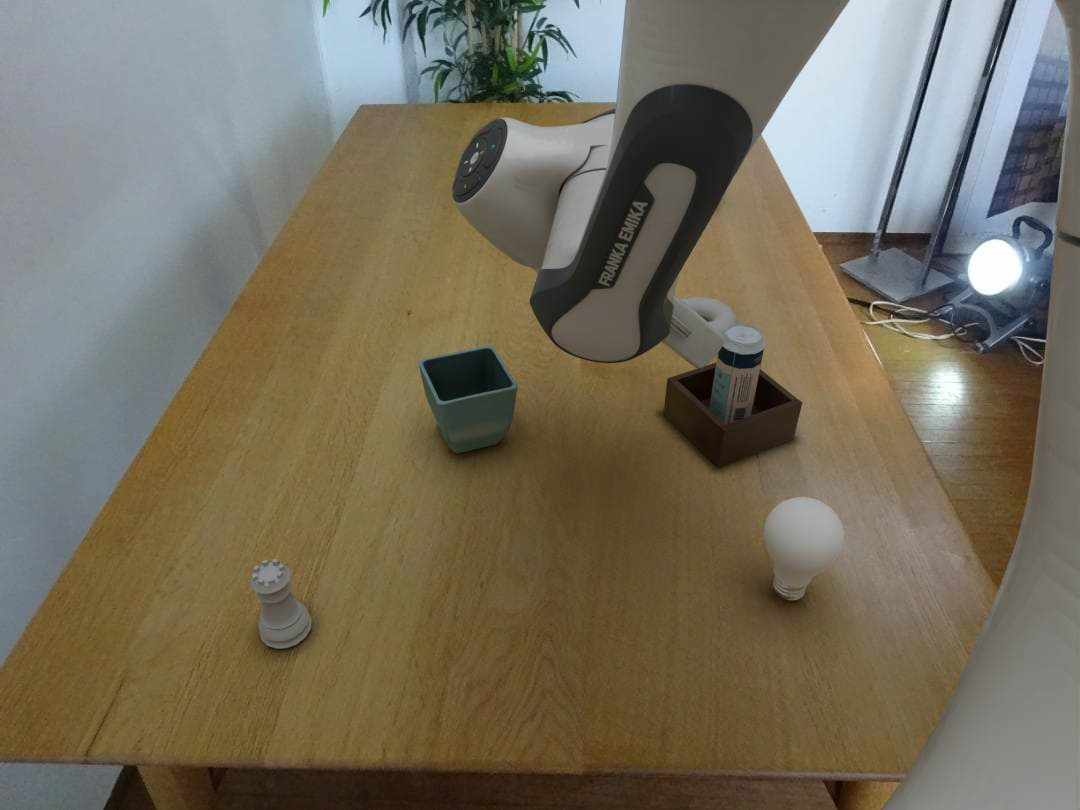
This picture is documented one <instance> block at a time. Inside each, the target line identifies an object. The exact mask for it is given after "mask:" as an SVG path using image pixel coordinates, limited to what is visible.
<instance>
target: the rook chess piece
mask: <svg viewBox="0 0 1080 810" xmlns="http://www.w3.org/2000/svg"><path fill="white" fill-rule="evenodd" d="M261 564H262V565H258V564H256V565H255V566H254V568H253V569H252V570H253V573H251V577H250V580H249V584H250V588H251V589H252V590H253V591H254V592H255V593H256V597H257V599H258V600H259V601H261V605H262V611H261V614H260V615H259V620H258V627H257V628H258V631H259V636H260V639H261V641H262V642H263V643H264V644H265V645H266V646H267V647H270V648H274V649H277V650H278V649H279V650H281V649H289V648H292V647H295V646H297V645H298V644H300V643H301V642H302V641H303V640H304V639H305V638H306V637H307V636H308V634H309V632H310V631H311V628H312V622H313V621H312V620H313V619H312V617H311V615H310V613H309V610H308V608H307V607H306V605H305V604H303V603H302V602H301V601H300V600H297V598H295V597H294V595H293V594H292V592H291V591H292V584H291V581H290V580H291V579H290V578H291V571H290V568H289V567H288V566H287V565H286V564H283V563H282V562H281V563H280V560H279V559H276V558H273V559H272V561H271V562H269V559H268V558H266V559H264V560H261Z"/></svg>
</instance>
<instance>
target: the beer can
mask: <svg viewBox="0 0 1080 810" xmlns="http://www.w3.org/2000/svg"><path fill="white" fill-rule="evenodd" d="M722 335H723V337H724V339H725V342H724V345H723V346H722V348H721V349H720V351H719V352H718V353H717V358H716V362H717V364H716V370H715V376H714V382H713V389H712V395H711V401H710V408H709V410H710V411H711V412H712V413H714V414H715V415H716V416H717V417H718V418H719V419H720V420H721V421H722V422H723V423H725V425H727V424H729V423H732V422H735V421H738V420H740V419H743V418H746V417H749V416H751V411H752V406H753V401H754V397H755V392H756V387H757V382H758V377H759V372H760V369H761V366H762V362H763V356H764V353H765V352H764V351H765V347H766V341H765V338H764V335H763V332H762V331H761V330H760V329H758V328H757V327H756V326H753V325H749V324H746V323H738V324H733V325H731V326H730V327H728V328H726V330H725V331H724V332H723V333H722Z"/></svg>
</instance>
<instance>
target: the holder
mask: <svg viewBox="0 0 1080 810" xmlns="http://www.w3.org/2000/svg"><path fill="white" fill-rule="evenodd" d="M716 364H717V361H716V362H713V363H709V364H707V365H706V366H705V367H703V368H694V369H691V370H689V371H685V372H681V373H678V374H676V375H673V376H670V377H667V379H666V388H665V394H664V395H665V396H664V404H663V416H664V417H665V418H666V419H667V420H668V421H669V422H671V424H673V425H674V427H675V428H676V429H677V430H679V431H680V432H681V434H682V435H684V437H685V438H686V439H688V441H690V442H691V443H692V444H693V445H694V446H695V447H696V448H697V449H698V450H699V451H700V452H701V453H702V454H703V455H704V456H705V457H706V458H707V459H708V460H709V461H710V462H711V463H712V465H714V466H715V467H716V468H717V469H719V468H722V467H724V466H728V465H729V464H733V463H735V462H737V461H740V460H743V459H745V458H749V457H751V456H753V455H756V454H759V453H761V452H764V451H766V450H769V449H771V448H774V447H777V446H779V445H782V444H784V443H787V442H790V441H793V440H794V439H795V435H796V431H797V428H798V423H799V419H800V414H801V411H802V407H803V402H802V401H801V400H800V399H799V398H797V397H796V396H795V395H794V394H792V393H791V392H790V391H789V390H787V389H786V388H784V386H783V385H781V384H780V383H779V382H777V381H776V380H774V379H773V378H772V377H771V376H770V375H768V374H767V373H766V372H764V370H762V369H761V368H760V372H759V377H758V382H757V387H756V392H755V397H754V401H753V406H752V411H751V416H749V417H746V418H743V419H740V420H738V421H735V422H732V423H729V424H727V425H725V423H723V422H722V421H721V420H720V419H719V418H718V417H717V416H716V415H715V414H714V413H712V412H711V411H710V410H709V408H710V401H711V395H712V389H713V382H714V376H715V370H716Z"/></svg>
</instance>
